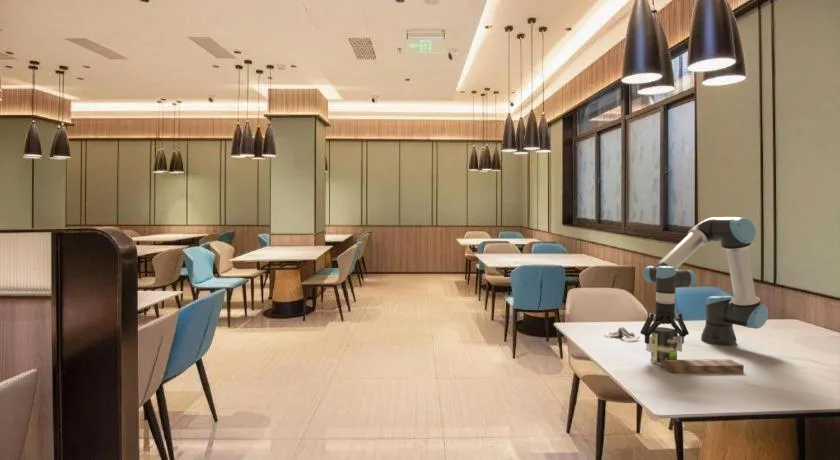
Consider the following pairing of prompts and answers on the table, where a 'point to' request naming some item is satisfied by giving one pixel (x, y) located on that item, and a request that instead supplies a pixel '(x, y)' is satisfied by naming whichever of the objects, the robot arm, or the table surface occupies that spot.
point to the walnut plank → (702, 366)
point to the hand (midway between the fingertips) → (663, 351)
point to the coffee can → (664, 344)
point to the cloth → (622, 335)
